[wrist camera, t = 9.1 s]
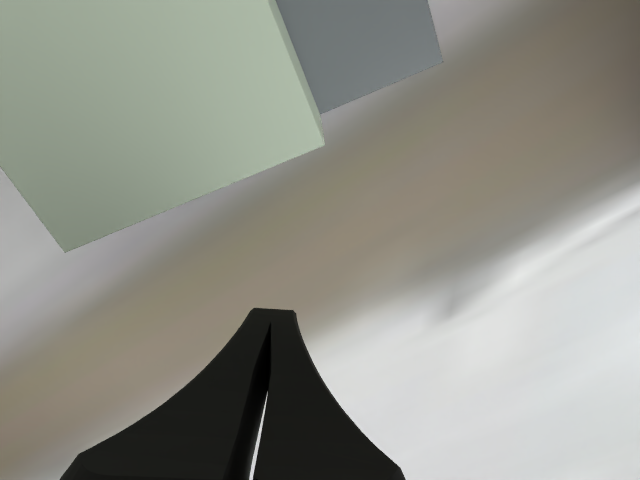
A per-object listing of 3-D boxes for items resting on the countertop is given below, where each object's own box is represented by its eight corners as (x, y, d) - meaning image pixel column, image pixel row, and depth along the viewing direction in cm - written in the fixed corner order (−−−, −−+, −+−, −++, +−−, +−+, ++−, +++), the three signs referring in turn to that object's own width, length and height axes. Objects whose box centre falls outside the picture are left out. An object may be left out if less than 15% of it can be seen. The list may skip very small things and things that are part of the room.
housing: (320, 114, 15) (325, 145, 9) (148, 188, 16) (64, 252, 11) (218, -146, 12) (140, -319, 6) (14, -34, 13) (-203, -103, 7)
